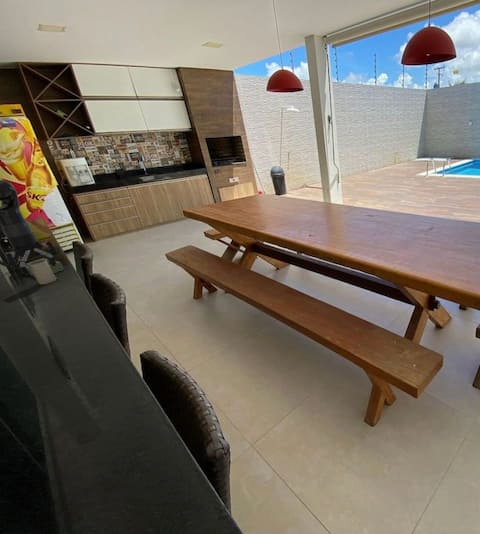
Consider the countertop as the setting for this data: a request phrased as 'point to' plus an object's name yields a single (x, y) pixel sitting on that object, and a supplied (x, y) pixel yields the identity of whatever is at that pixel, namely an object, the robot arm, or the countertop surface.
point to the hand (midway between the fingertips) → (41, 270)
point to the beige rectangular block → (42, 271)
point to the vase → (34, 258)
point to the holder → (54, 268)
